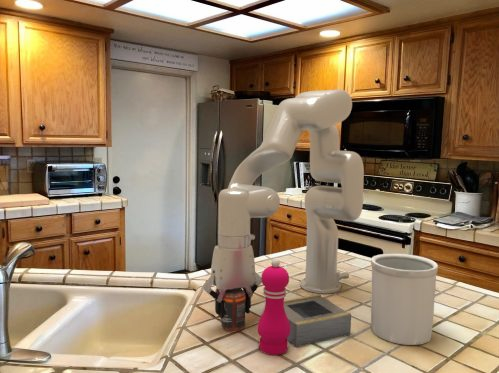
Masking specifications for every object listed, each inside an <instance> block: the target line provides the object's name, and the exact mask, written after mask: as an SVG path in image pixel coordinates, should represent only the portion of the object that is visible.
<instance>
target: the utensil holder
mask: <svg viewBox="0 0 499 373" xmlns="http://www.w3.org/2000/svg"><path fill="white" fill-rule="evenodd" d="M370 264H371V265H370V266H371V295H370V297H371V298H370V324H371V326H370V329H371V332H373V334H374V335H376V336H377V337H378V338H380V339H383V340H385V341H386V342H391V343H394V344H398V345H404V346H405V345H407V346H418V345H423V344H426V343H428V342H430V341H431V340H432V335H433V324H434V313H435V298H436V296H435V295H436V284H437V283H436V282H437V274H438V271H439V265H438V263H437V262H435V261H434V260H432V259H429V258H427V257H423V256H419V255H415V254H406V253H382V254H377V255H373V256H372V257H371V259H370Z"/></svg>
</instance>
